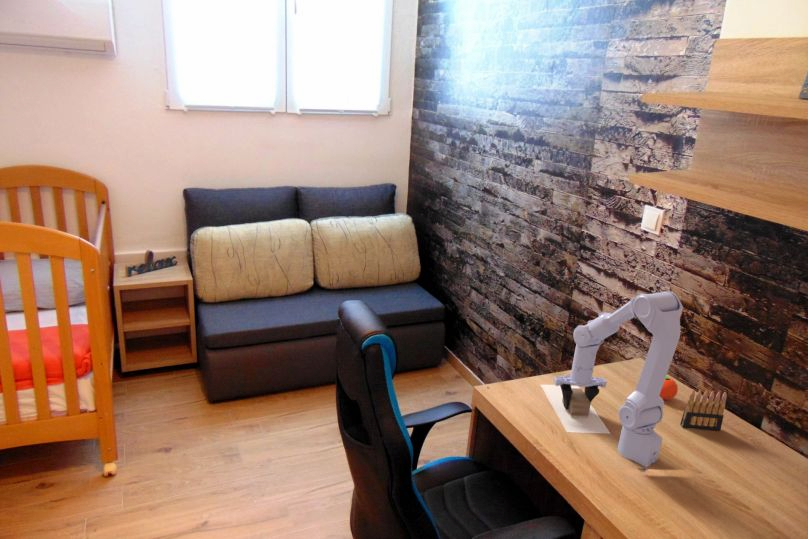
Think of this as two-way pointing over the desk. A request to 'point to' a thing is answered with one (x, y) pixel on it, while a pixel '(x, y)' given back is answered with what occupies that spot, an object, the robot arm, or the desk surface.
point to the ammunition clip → (704, 412)
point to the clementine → (668, 389)
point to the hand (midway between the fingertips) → (575, 407)
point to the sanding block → (578, 404)
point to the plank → (573, 423)
